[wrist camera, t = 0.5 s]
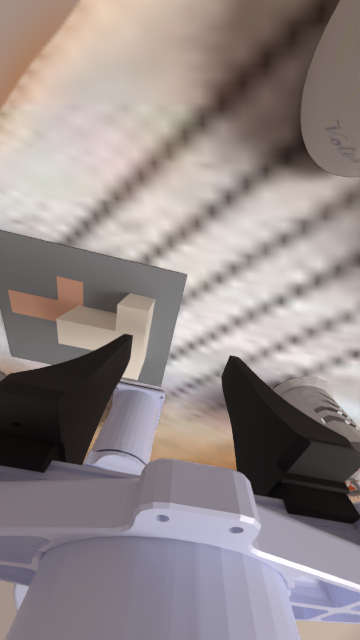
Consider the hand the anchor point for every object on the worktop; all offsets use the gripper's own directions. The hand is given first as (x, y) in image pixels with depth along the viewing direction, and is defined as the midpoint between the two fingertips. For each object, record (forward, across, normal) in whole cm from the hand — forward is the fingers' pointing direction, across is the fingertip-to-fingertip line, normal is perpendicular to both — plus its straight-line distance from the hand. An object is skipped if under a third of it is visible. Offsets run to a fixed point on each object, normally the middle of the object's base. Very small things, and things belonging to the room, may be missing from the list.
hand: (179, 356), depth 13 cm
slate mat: (+10, +12, +4) cm, 16 cm away
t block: (+9, +8, +4) cm, 13 cm away
